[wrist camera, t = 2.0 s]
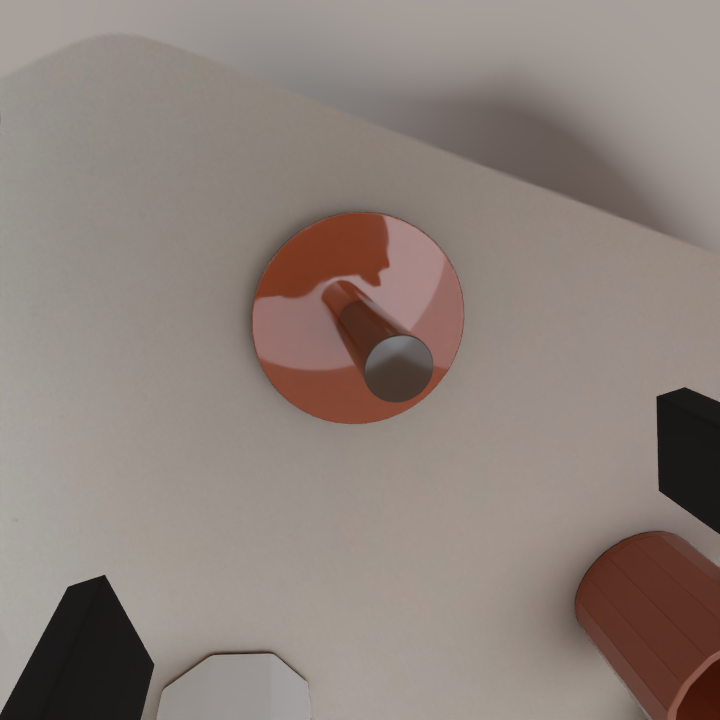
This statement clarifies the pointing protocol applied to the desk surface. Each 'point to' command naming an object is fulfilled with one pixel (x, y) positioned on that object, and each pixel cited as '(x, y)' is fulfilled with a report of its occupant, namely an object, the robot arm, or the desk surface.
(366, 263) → the lid
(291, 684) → the cup
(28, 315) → the desk surface
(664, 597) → the jar
